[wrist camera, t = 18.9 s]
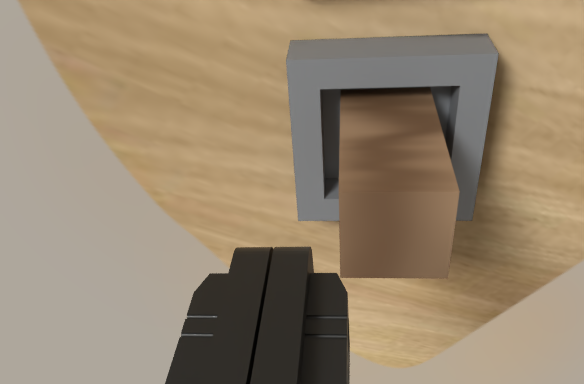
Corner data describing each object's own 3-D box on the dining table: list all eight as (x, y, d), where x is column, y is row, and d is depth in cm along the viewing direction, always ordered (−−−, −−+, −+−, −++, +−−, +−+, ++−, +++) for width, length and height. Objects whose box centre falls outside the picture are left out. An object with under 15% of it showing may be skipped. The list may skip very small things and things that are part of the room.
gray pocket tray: (486, 33, 27) (498, 53, 25) (464, 193, 32) (472, 220, 30) (290, 40, 28) (285, 60, 26) (301, 194, 33) (298, 220, 31)
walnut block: (430, 87, 28) (459, 191, 21) (423, 162, 31) (447, 278, 23) (340, 89, 28) (338, 192, 21) (341, 163, 31) (340, 277, 24)
